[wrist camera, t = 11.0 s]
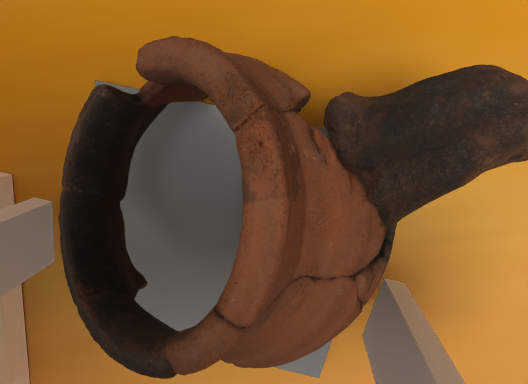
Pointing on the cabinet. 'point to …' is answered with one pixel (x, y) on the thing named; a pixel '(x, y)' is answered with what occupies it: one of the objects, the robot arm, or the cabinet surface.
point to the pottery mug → (275, 198)
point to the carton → (12, 316)
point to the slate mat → (188, 216)
